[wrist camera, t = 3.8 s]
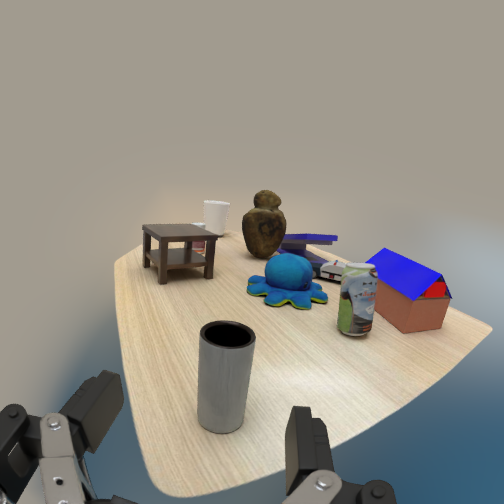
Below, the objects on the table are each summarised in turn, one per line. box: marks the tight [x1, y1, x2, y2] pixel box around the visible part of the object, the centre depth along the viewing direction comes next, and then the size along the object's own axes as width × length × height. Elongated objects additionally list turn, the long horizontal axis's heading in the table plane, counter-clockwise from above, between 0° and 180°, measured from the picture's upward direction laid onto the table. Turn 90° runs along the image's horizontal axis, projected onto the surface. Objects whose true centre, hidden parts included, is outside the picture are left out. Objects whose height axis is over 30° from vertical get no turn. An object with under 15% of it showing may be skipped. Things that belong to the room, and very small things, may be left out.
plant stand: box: [142, 224, 218, 284], centre depth 64 cm, size 13×13×10 cm
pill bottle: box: [192, 223, 205, 254], centre depth 84 cm, size 5×5×8 cm
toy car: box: [310, 260, 346, 281], centre depth 73 cm, size 5×16×5 cm, turn 66°
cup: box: [204, 201, 230, 237], centre depth 109 cm, size 10×10×13 cm
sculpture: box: [242, 190, 286, 258], centre depth 85 cm, size 13×8×20 cm, turn 101°
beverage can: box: [337, 262, 378, 336], centre depth 45 cm, size 6×7×12 cm
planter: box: [197, 321, 256, 433], centre depth 24 cm, size 4×4×10 cm
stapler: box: [277, 234, 338, 264], centre depth 94 cm, size 12×28×10 cm, turn 21°
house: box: [365, 248, 452, 333], centre depth 55 cm, size 12×20×12 cm, turn 10°
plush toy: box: [247, 253, 328, 310], centre depth 61 cm, size 17×17×8 cm
